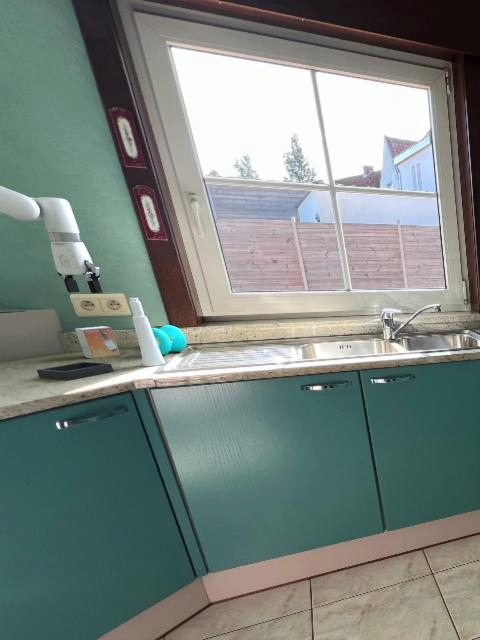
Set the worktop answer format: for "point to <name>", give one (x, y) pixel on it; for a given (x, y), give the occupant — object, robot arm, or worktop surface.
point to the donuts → (165, 341)
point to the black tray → (75, 371)
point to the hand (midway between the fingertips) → (85, 292)
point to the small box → (97, 342)
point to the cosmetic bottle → (145, 336)
